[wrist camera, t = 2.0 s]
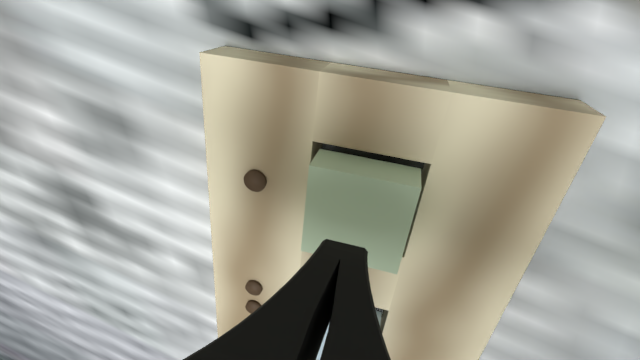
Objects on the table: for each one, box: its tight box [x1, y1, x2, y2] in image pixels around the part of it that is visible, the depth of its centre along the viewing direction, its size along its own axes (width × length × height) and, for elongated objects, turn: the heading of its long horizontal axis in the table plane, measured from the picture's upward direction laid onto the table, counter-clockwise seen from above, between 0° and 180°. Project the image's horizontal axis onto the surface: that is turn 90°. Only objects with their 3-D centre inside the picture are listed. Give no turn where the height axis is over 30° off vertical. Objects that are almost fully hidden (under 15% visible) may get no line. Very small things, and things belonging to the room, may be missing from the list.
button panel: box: [200, 46, 606, 360], centre depth 19 cm, size 14×26×2 cm, turn 174°
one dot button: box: [301, 149, 422, 274], centre depth 14 cm, size 4×4×2 cm
